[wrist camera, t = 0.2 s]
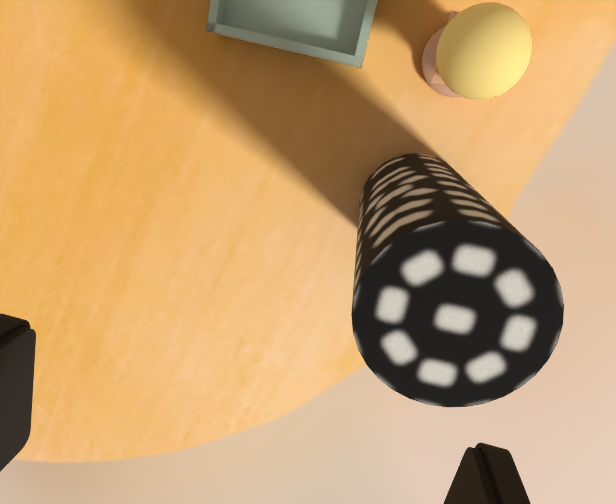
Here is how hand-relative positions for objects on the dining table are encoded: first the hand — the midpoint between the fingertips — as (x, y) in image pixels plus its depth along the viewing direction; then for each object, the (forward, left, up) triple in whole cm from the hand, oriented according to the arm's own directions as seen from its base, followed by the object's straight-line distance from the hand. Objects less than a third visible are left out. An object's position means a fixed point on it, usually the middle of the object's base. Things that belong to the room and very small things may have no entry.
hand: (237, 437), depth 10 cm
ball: (-11, +6, -25) cm, 28 cm away
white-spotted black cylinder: (0, +6, -31) cm, 31 cm away
